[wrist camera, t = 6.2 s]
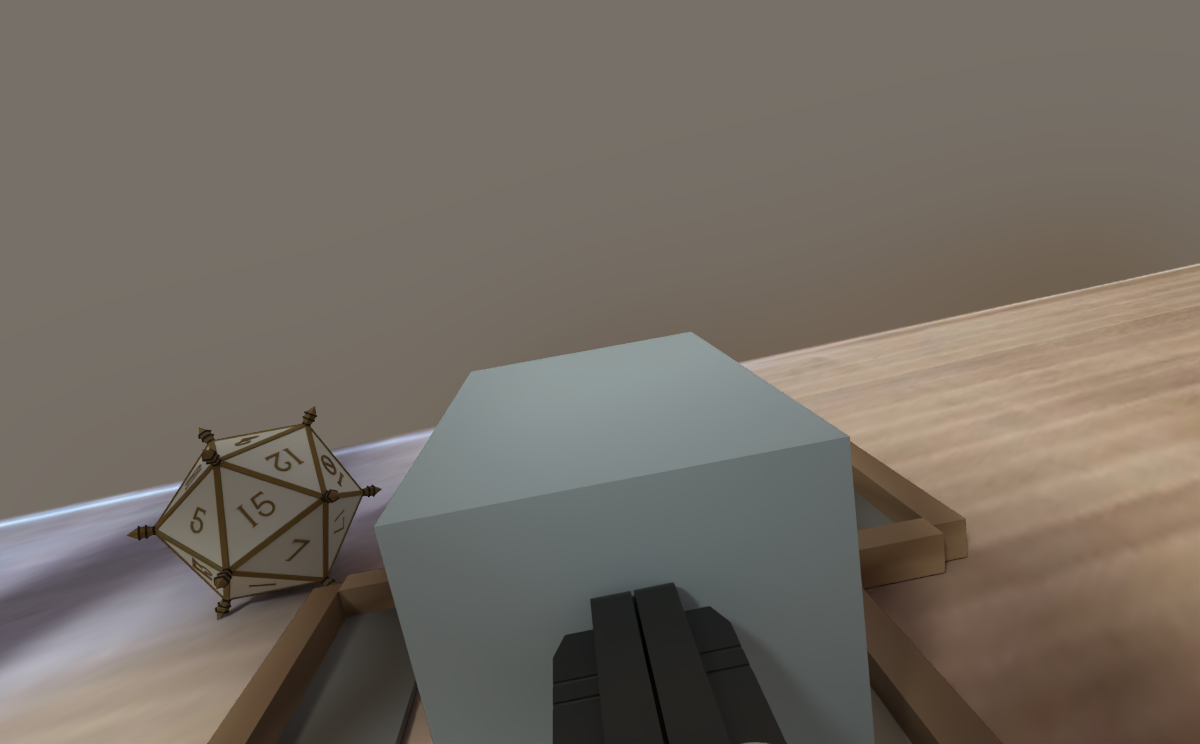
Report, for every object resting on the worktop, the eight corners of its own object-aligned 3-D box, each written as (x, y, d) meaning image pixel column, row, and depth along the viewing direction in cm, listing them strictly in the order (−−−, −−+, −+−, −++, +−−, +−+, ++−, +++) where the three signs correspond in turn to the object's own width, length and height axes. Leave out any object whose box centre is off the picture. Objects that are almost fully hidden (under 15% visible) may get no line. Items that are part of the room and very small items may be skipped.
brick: (488, 943, 12) (373, 526, 10) (520, 594, 24) (471, 372, 22) (884, 858, 12) (849, 436, 10) (721, 555, 24) (691, 331, 22)
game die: (273, 662, 29) (146, 505, 30) (419, 537, 33) (301, 400, 34) (212, 685, 21) (40, 468, 22) (415, 515, 24) (260, 335, 25)
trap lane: (-183, 1464, 8) (-241, 1395, 7) (396, 499, 37) (390, 476, 36) (1591, 1031, 9) (1611, 952, 8) (792, 424, 38) (789, 401, 37)
